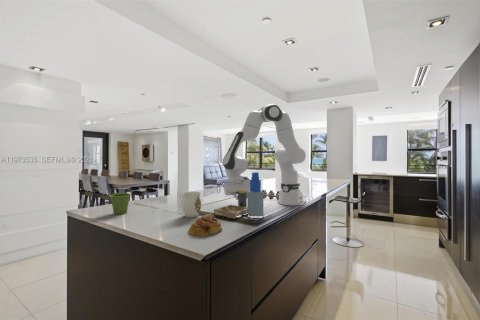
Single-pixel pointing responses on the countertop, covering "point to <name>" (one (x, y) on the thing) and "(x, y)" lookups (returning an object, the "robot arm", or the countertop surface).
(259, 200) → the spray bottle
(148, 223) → the countertop surface
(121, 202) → the plant pot
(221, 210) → the birch tray
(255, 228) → the countertop surface
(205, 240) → the countertop surface
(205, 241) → the countertop surface
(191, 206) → the pitcher
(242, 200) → the black shaker
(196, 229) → the pastry
